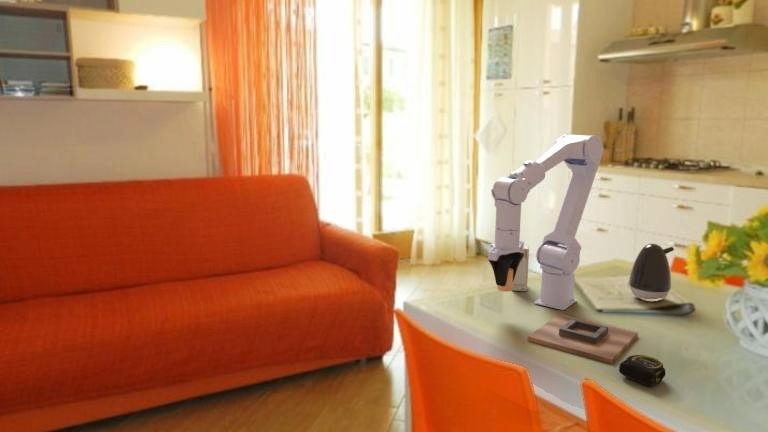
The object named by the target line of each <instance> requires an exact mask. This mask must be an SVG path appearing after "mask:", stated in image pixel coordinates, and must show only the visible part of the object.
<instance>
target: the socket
mask: <svg viewBox="0 0 768 432" xmlns="http://www.w3.org/2000/svg"><path fill="white" fill-rule="evenodd" d="M638 336H639V332H638V331H634V330H630V329H625V328H623V327H622V328H621V327H618V326H614V325H609V324H604V323H601V322H597V321H592V320H587V319H583V318H579V317H575V316H571V315H566V314H563V313H559V314H557V315H556V316H554V317H553V318H552V319H550V320H549V321H547V322H546V323H545V324H542V326H540V327H539V328H538V329H536V330H535V331H533V332H532V333H529V335H527V339H526V340H527V342H531V343H535V344H537V345H542V346H547V347H549V348H552V349H557V350H560V351H563V352H566V353H570V354H574V355H578V356H582V357H584V358H588V359H593V360H597V361H599V362H603V363H607V364H611V365H612V364H613V363H615V361H616V360H617V359H618V358H619V357H620V356H621V355H622V354H623V353H624V352H625V351H626V349H628V348H629V346H630V345H631V344H632V343H633V342H634V341H635V340H636V339H637V337H638Z"/></svg>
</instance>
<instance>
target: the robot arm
mask: <svg viewBox="0 0 768 432" xmlns="http://www.w3.org/2000/svg"><path fill="white" fill-rule="evenodd" d="M604 151H605V149H604V145H603V142H602V140H601V138H600V136H598V135H595V134H593V135H583V134H570V133H565V134H563V135H561V136H560V137H559V138H557V139H556V141H555V143H554V145H553V146H552V147H550V149H549V150H547V152H545V153H544V154H542V156H540V157H539V158H538V159H537V160H526V161H523V163H522V166H520V167H519V168H517V169H516V170H515V171H512V172H510V173H509V175H508V176H507V177H500V178H498V179H497V180H496V181H495V182H494V184H493V187H492V189H491V196H492V198H493V200H494V206H495V208H496V209H495V230H494V231H495V232H494V243H490V245H489V247H490V248H491V250H489V251H487V252H488V253H487V254H488V255H487V256H488V257H487V259H488V262H489V263H490V266H491V268H492V270H493V271H492V272H493V274H494V279H495V280H494V281H495V284H496V286H497V285H499V286H505V285H506V282H507V276H508V271H509V268H512V269H513V281H514V278H515V275H516V271H517V268H518V266H519V264H520V262H521V260H522V258H523V257H524V253H521V252H518V251H520V250H522V249H523V248H524V244H525V241H522V240H520V236H521V235H520V233H521V217H522V213H521V212H522V203H524V202H525V201H526V199H527V198H528V194H529V193H531V190H532V189H534V188H535V187H536V186H538V185H539V184H540V183H541V182H543V181H544V180H545V179H546V173H547V172H548V171H550V170H551V169H553V168H555V167H556V166H558V165H559V164H561V163H562V162H564V163H565V165H566V167H567V168H568V169H570V170H571V173H572V176H571V179H570V180H569V181H570V182H569V184H568V187H567V191H566V193H565V197H564V200H563V202H562V205H561V209H560V212H559V215H558V217H557V218H558V219H557V221H556V224H555V227H554V230H553V231H552V232H550V233H547V234H546V235H545V236H544V237H543V239H542V242H541V244H539V245H538V248H537V249H536V253H535V255H536V256H535V257H536V261H537V264H539V265H540V267H539V268H540V269H541V271H542V272H541V284H540V285H541V288H540V297H539V298H538V299H536V300H535V301H534V303H533V304H536V305H540V306H542V307H543V306H544V307H549V308H552V309H556V310H561V311H564V310H566V309H568V308H570V307H571V305H573V304H575V303H576V302H577V301H578V299H577V298H574V295H575V282H576V276H575V271H576V270H577V268H578V267H579V265H580V261H581V260H580V254H581V251H582V246H581V244H580V243H579V241H578V240H577V239H576V235H577V233H578V229H579V226H580V223H581V221H582V218H583V214H584V211H585V208H586V206H587V202H588V199H589V196H590V193H591V191H592V188H593V187H592V186H593V183H594V181H595V177H596V174H597V171H598V169H599V166H600V164H601V160H602V158H603V155H604Z"/></svg>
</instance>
